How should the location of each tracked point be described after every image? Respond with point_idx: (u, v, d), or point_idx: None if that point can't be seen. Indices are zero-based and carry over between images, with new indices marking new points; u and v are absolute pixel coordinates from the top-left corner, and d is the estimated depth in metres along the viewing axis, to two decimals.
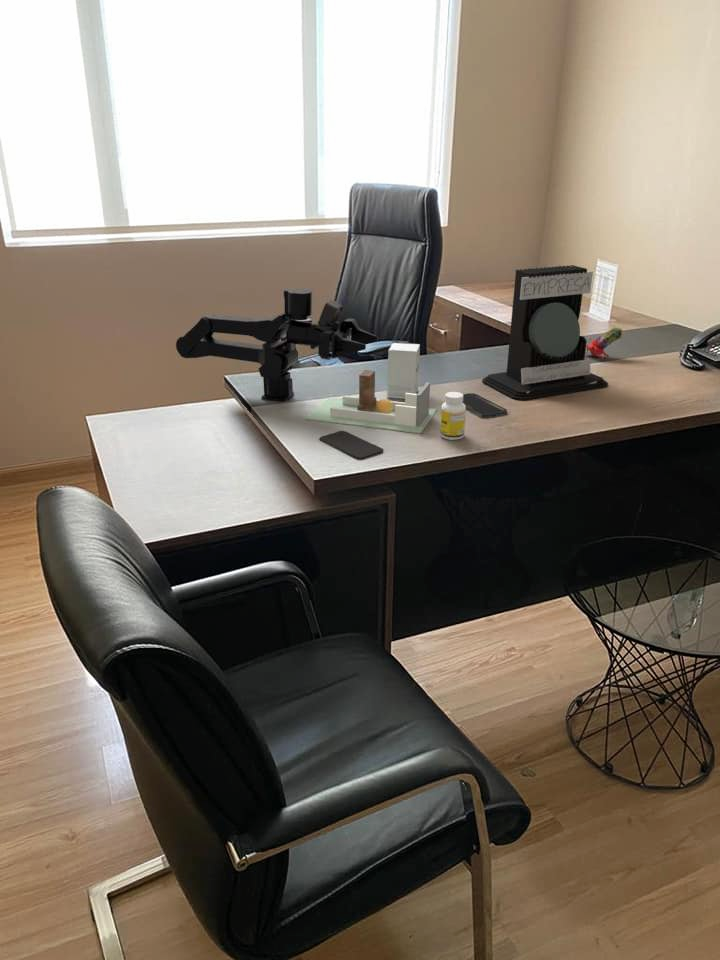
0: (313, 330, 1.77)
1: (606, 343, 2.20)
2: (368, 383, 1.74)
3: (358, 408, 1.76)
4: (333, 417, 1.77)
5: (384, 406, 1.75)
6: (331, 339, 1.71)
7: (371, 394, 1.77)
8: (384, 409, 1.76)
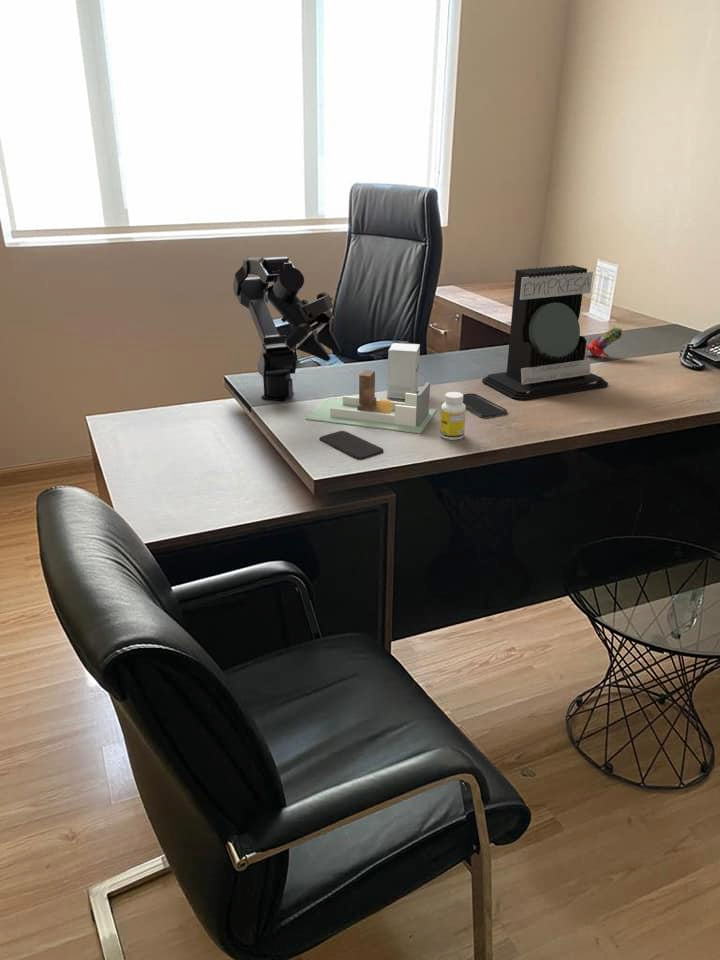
0: (294, 309, 1.72)
1: (606, 343, 2.20)
2: (368, 383, 1.74)
3: (358, 408, 1.76)
4: (333, 417, 1.77)
5: (384, 406, 1.75)
6: (306, 335, 1.69)
7: (371, 394, 1.77)
8: (384, 409, 1.76)
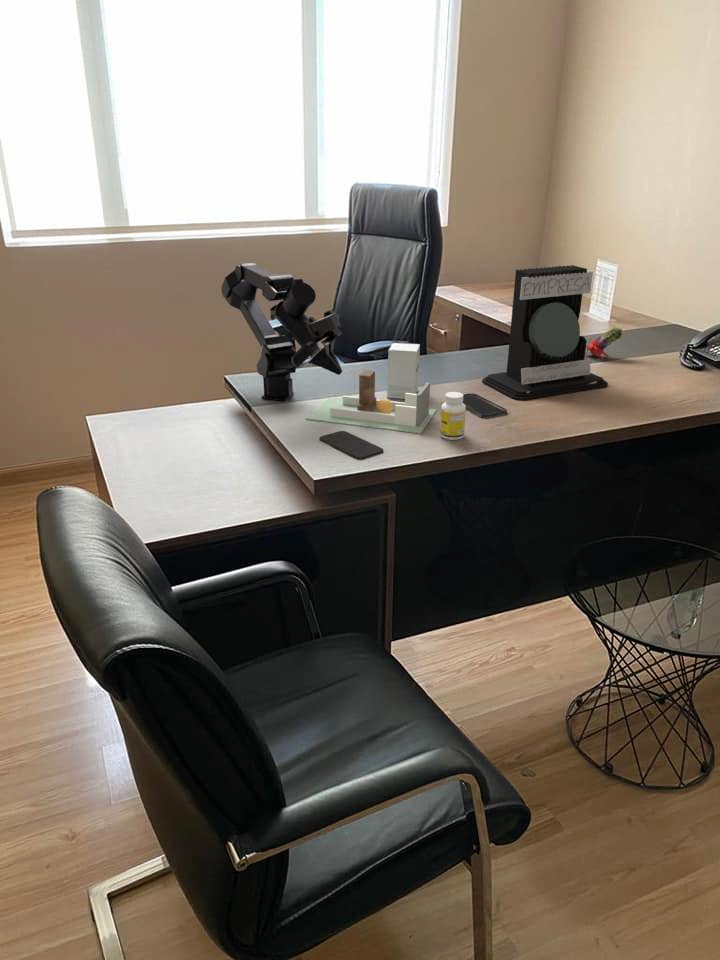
0: (301, 327, 1.73)
1: (606, 343, 2.20)
2: (368, 383, 1.74)
3: (358, 408, 1.76)
4: (333, 417, 1.77)
5: (384, 406, 1.75)
6: (318, 349, 1.72)
7: (371, 394, 1.77)
8: (384, 409, 1.76)
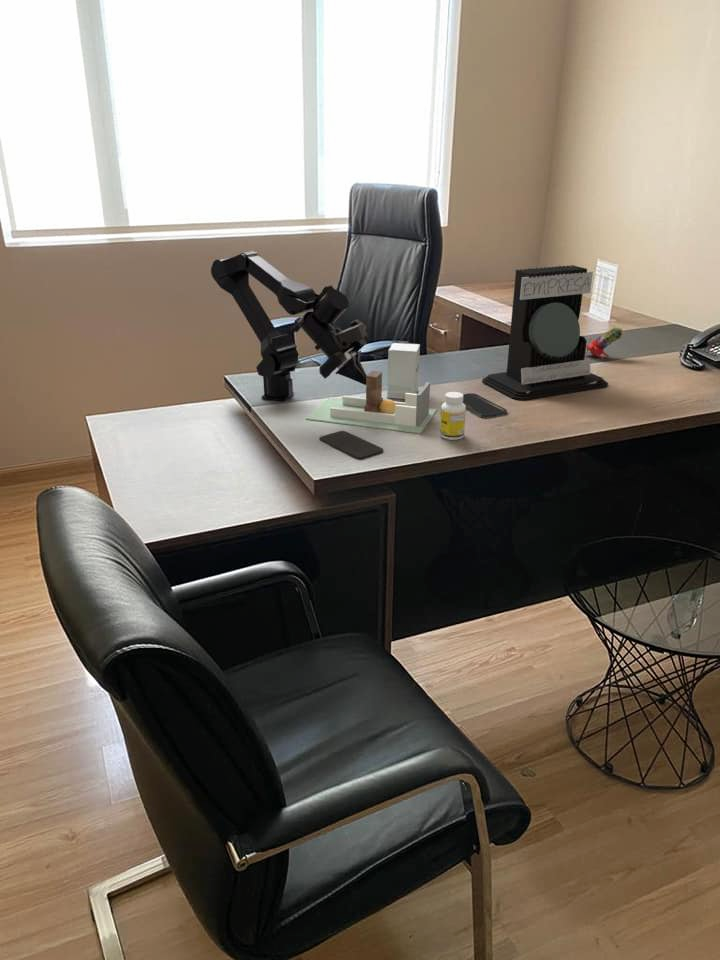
0: (328, 337, 1.72)
1: (606, 343, 2.20)
2: (375, 384, 1.73)
3: (365, 409, 1.75)
4: (333, 417, 1.77)
5: (389, 408, 1.75)
6: (346, 360, 1.71)
7: (378, 395, 1.76)
8: (387, 411, 1.75)
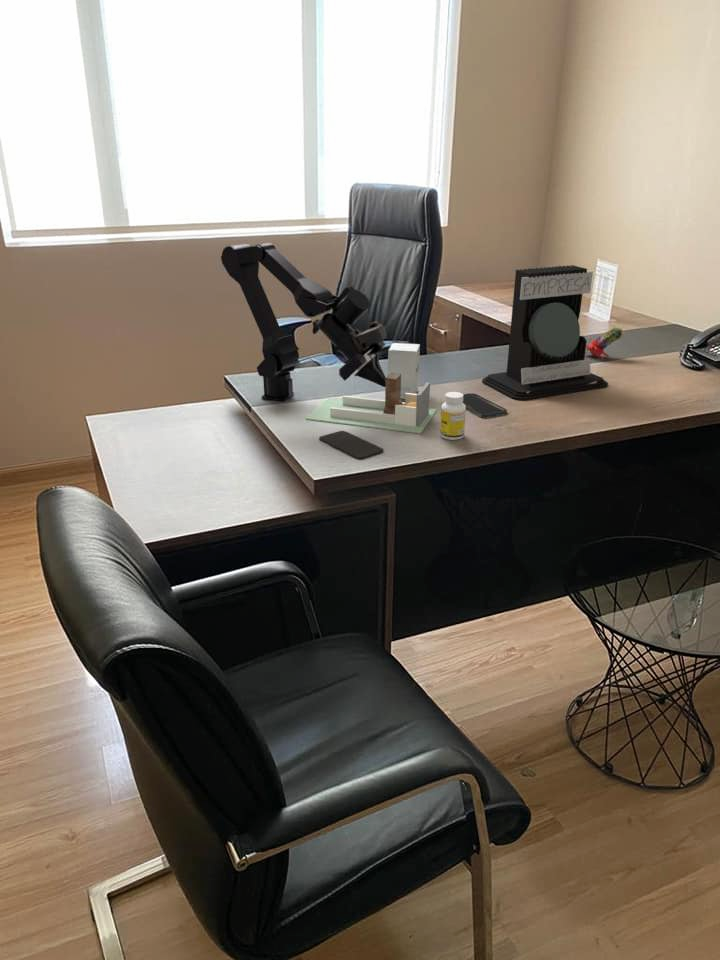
0: (348, 339, 1.70)
1: (606, 343, 2.20)
2: (395, 386, 1.72)
3: (384, 411, 1.74)
4: (333, 417, 1.77)
5: None
6: (365, 362, 1.70)
7: (397, 397, 1.75)
8: None
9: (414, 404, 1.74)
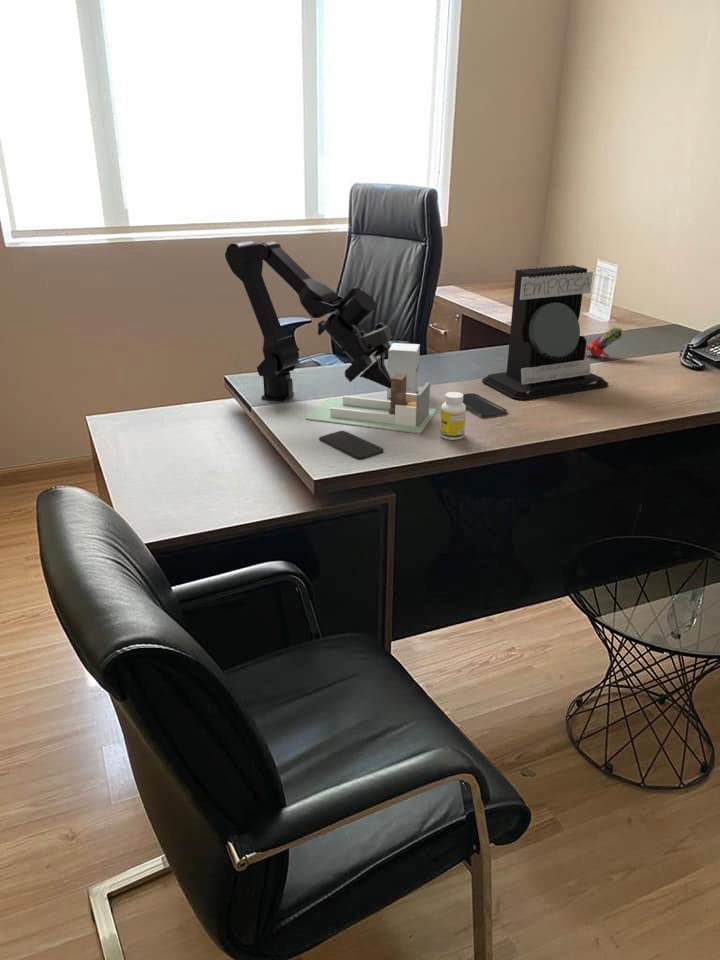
0: (353, 340, 1.70)
1: (606, 343, 2.20)
2: (400, 386, 1.72)
3: (390, 412, 1.74)
4: (333, 417, 1.77)
5: None
6: (371, 363, 1.70)
7: (403, 398, 1.74)
8: None
9: (414, 404, 1.74)
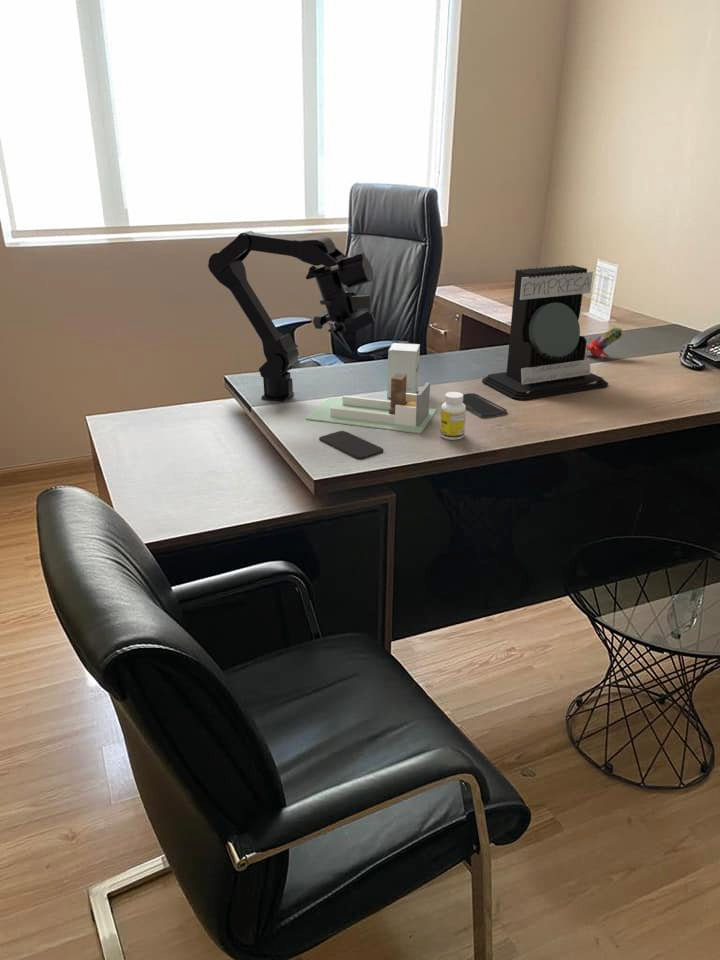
0: (345, 296, 1.75)
1: (606, 343, 2.20)
2: (400, 386, 1.72)
3: (390, 412, 1.74)
4: (333, 417, 1.77)
5: None
6: None
7: (403, 398, 1.74)
8: None
9: (412, 404, 1.74)
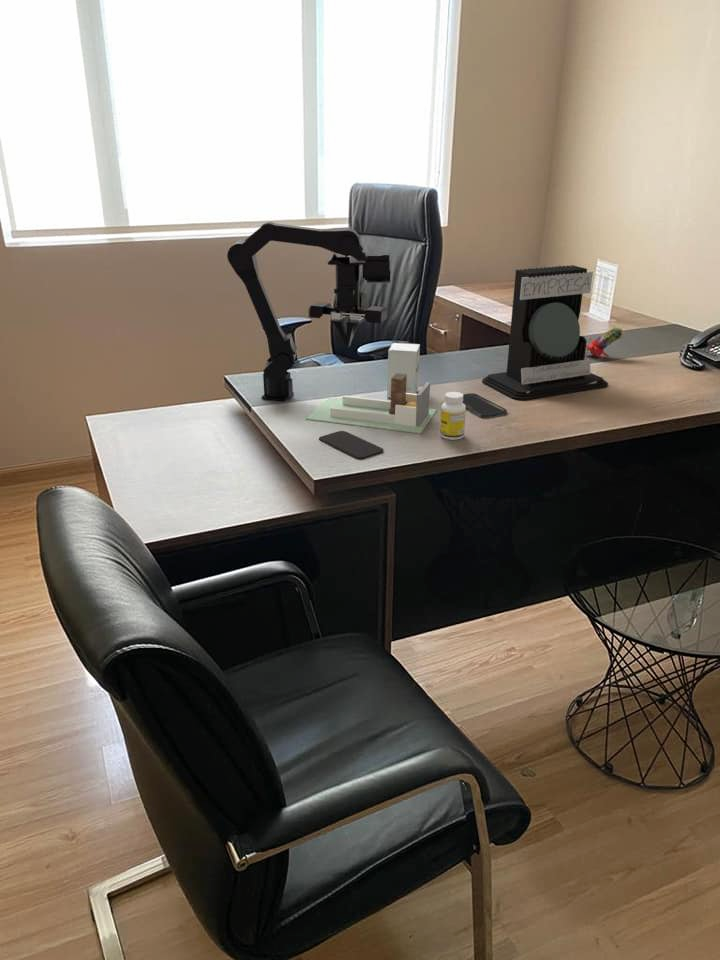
0: (359, 289, 1.80)
1: (606, 343, 2.20)
2: (400, 386, 1.72)
3: (390, 412, 1.74)
4: (333, 417, 1.77)
5: None
6: (363, 317, 1.83)
7: (403, 398, 1.74)
8: None
9: (412, 404, 1.74)
